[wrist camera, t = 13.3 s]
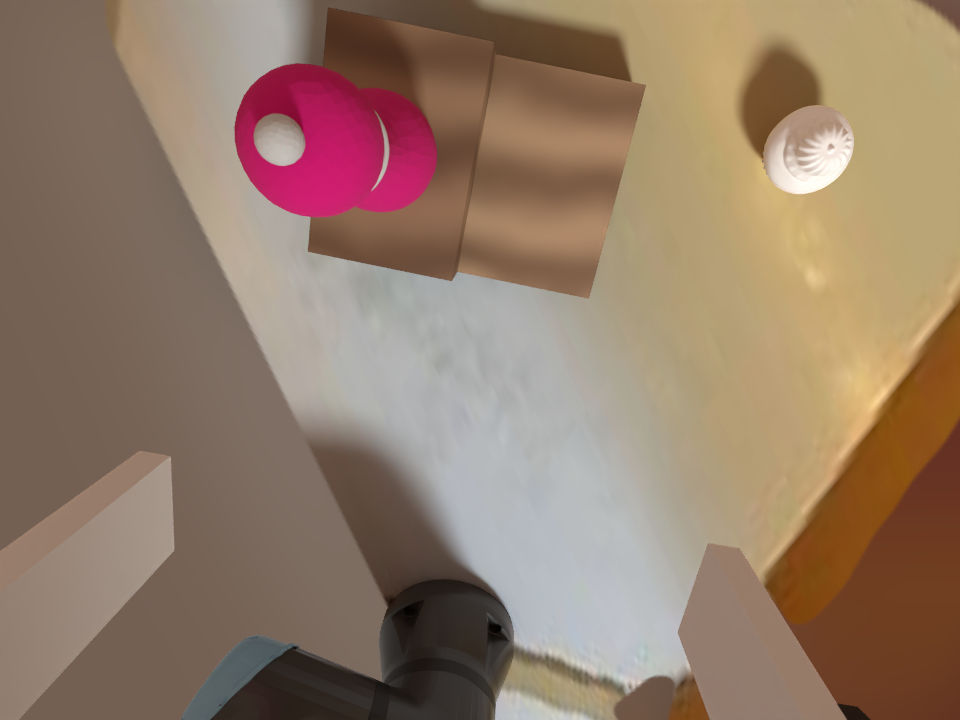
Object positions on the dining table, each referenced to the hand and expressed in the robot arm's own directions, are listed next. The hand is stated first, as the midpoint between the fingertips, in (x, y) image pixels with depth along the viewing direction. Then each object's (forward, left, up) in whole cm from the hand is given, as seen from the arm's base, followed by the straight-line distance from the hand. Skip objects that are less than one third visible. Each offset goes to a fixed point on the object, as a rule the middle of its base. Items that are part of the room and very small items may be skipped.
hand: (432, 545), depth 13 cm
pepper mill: (+8, +8, -29) cm, 31 cm away
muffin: (+14, -21, -37) cm, 45 cm away
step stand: (+8, +3, -37) cm, 38 cm away
